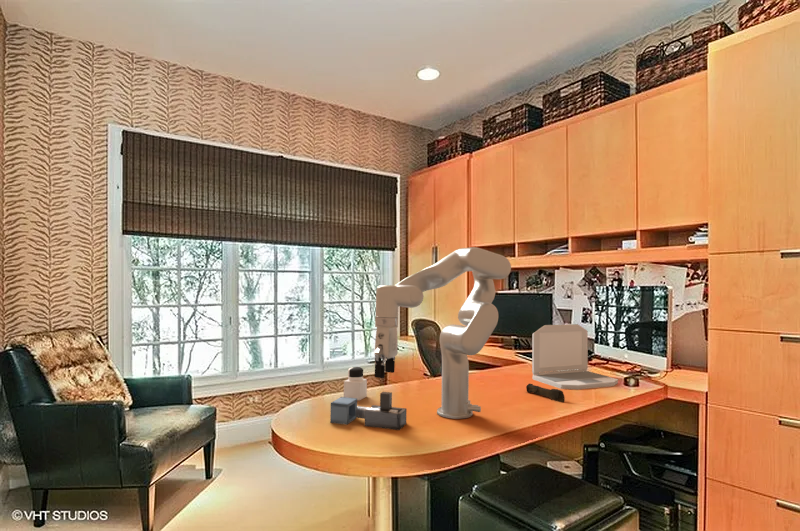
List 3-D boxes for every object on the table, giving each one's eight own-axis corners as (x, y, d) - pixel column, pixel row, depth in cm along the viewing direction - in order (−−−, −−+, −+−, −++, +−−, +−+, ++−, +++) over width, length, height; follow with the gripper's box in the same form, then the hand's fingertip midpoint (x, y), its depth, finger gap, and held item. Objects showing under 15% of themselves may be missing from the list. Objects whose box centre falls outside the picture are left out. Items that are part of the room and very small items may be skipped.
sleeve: (406, 423, 152) (406, 408, 152) (399, 430, 145) (400, 414, 145) (372, 419, 156) (372, 405, 156) (364, 426, 149) (364, 410, 149)
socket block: (356, 417, 158) (357, 398, 158) (346, 424, 150) (347, 404, 151) (341, 415, 160) (341, 396, 160) (330, 422, 152) (330, 402, 152)
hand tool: (525, 393, 197) (525, 382, 197) (532, 392, 198) (532, 381, 198) (559, 404, 180) (559, 392, 180) (566, 403, 181) (566, 391, 181)
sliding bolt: (399, 420, 151) (399, 392, 151) (395, 423, 148) (395, 395, 148) (359, 416, 155) (360, 389, 156) (355, 419, 152) (355, 391, 152)
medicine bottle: (366, 396, 186) (367, 366, 187) (359, 400, 180) (360, 370, 180) (350, 394, 189) (351, 365, 189) (343, 399, 182) (343, 368, 182)
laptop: (566, 391, 201) (567, 330, 201) (531, 379, 223) (532, 325, 224) (624, 385, 213) (624, 328, 213) (585, 375, 235) (585, 323, 236)
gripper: (388, 325, 142) (386, 381, 141) (405, 321, 158) (403, 371, 158) (366, 323, 144) (364, 378, 144) (384, 320, 161) (383, 369, 160)
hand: (384, 374), depth 151 cm, fingers open, 9 cm apart
